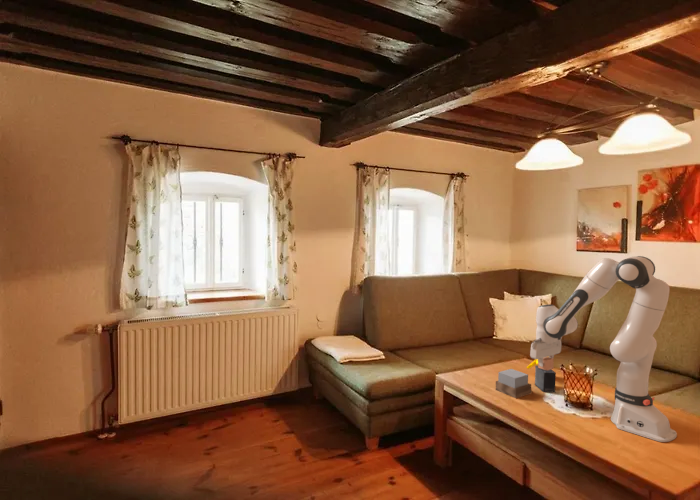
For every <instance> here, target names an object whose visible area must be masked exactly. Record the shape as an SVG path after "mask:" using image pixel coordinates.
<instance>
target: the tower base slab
mask: <svg viewBox="0 0 700 500" xmlns="http://www.w3.org/2000/svg"><path fill="white" fill-rule="evenodd" d="M495 391H497V392H499V393H502V394H504V395H506V396H509V397H511V398H514V399H518V398H521V397H524V396H527V395H530V394H532V383H529V382H528V384H527V385H524V386H521V387H518V388H513V387H510V386H508V385H505V384H503V383H500V382H498V380H496V381H495Z"/></svg>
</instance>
